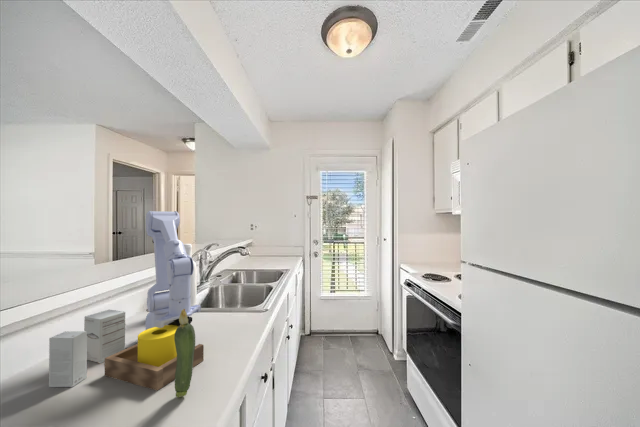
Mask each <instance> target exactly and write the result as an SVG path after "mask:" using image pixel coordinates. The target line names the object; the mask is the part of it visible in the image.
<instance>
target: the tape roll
mask: <svg viewBox="0 0 640 427" xmlns="http://www.w3.org/2000/svg"><path fill="white" fill-rule="evenodd" d="M178 327H179V326H176V325H164V327H162V328H158V327H153V328H150V329H147V330H145V329H144V330H142V331H141V332H139V334H138V335H137V344H138V362H140V363H144V364H148V365H152V366H156V367H160V366H161V365H163V364H165V363H167V362H168V361H170V360H172V359H174V358H175V357H177V353H176V346H175V340H174V337H175V332H176V329H177V328H178Z"/></svg>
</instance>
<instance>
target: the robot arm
mask: <svg viewBox="0 0 640 427" xmlns="http://www.w3.org/2000/svg"><path fill="white" fill-rule="evenodd" d="M180 221H181V219H180V213H179V212H178V211H177V210H175V211H166V210H164V211H159V210H158V211H157V210H154V211H152V210H148V211H147V212H146V214H145V229H146V230H145V232H146V235H147V236H148V237H151V238H152V241H153V250H154V251H153V252H154V265H155V281H156V282H155V283H154V285H152V286H151V287H150V288H149V289H148V291H147V294H146V295H147V298H146V307H147V310H148V313H147V315H146V317H145V323H144V324H145V327H144V328H145V329H144V331H145V330H147V329H150V328H153V327H158V328H162V327H164V325H176V326H180V325H181V324H180V322H179V317H180V314H181V311H182V310H183V309H185V311H186V313H187V318H188V323H189V324H191V323H192V322H193V317H192V315H193V314H195V313H199V312H201V311H202V310H201V309H202V306H201V305H200V304H197V305H194V306H191V299H190V298H191V297H190V296H191V276H190V275H192V274H193V270H194V264H193V261H194V260H193V257H190V256H189V255H187V253H186V251H185V248H184V245H183V244H184V242H183V241H181V240H180V239H179V237H178V232H177V231H178V227H179V226H180ZM191 325H192V324H191Z"/></svg>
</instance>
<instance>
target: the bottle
mask: <svg viewBox="0 0 640 427" xmlns="http://www.w3.org/2000/svg"><path fill="white" fill-rule="evenodd" d="M183 245H184V248H185V251H186V253H187V255H189V256H190V257H192V254H193V253H192V252H193V251H192V249H193V246H192V243H183ZM192 258H193V257H192ZM193 264H194V270H193V274H192V275H190V276H191V296H190V297H191V298H190V299H191V306H194V305H198V301H197V300H198V299H197V298H198V297H197V295H198V294H197V293H198V292H197V285H198V284H197V282H198V281H197V280H198V279H197V277H198V276H197V268H198V267H197V263H196V262H195V260H193Z"/></svg>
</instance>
